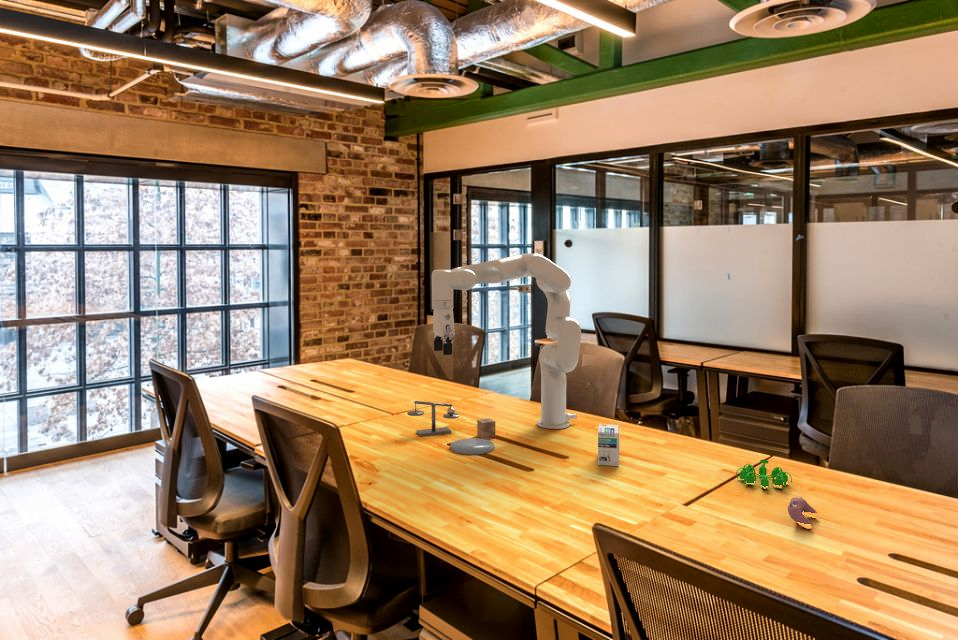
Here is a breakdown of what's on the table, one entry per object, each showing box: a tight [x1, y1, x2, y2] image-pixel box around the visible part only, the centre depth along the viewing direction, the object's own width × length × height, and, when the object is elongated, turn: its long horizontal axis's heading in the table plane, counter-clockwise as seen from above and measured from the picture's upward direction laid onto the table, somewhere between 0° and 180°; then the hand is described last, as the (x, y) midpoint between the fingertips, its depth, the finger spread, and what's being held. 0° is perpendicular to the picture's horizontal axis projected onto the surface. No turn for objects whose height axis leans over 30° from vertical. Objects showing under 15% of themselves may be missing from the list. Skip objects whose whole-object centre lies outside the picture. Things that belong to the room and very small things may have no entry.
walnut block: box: [476, 417, 496, 440], centre depth 244 cm, size 5×5×6 cm
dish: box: [450, 437, 495, 456], centre depth 230 cm, size 15×15×1 cm
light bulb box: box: [597, 423, 620, 467], centre depth 216 cm, size 11×7×11 cm, turn 168°
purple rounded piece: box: [787, 496, 818, 524], centre depth 168 cm, size 10×5×7 cm, turn 145°
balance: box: [406, 400, 460, 437], centre depth 249 cm, size 20×6×13 cm, turn 113°
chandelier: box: [735, 459, 793, 487], centre depth 196 cm, size 15×15×7 cm
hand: (443, 352), depth 239 cm, fingers open, 9 cm apart
